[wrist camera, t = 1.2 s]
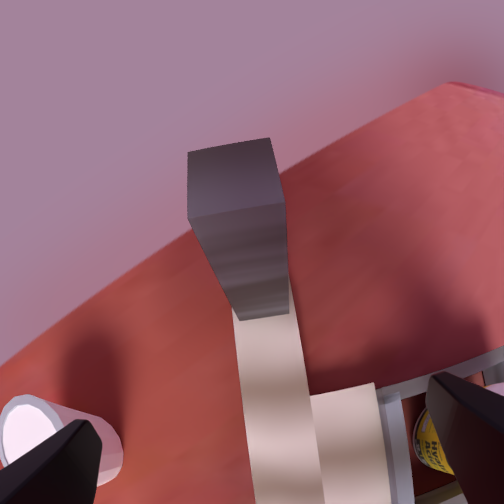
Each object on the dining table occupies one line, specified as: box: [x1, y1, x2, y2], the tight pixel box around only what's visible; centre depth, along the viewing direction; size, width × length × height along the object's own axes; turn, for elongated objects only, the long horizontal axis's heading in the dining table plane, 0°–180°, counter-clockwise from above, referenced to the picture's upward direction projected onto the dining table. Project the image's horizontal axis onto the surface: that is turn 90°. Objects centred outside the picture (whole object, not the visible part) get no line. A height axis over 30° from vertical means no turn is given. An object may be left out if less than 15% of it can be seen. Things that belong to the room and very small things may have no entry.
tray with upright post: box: [187, 138, 504, 504], centre depth 13 cm, size 19×18×13 cm
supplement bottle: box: [413, 383, 504, 475], centre depth 12 cm, size 5×5×10 cm
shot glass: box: [0, 394, 124, 486], centre depth 15 cm, size 7×7×7 cm
